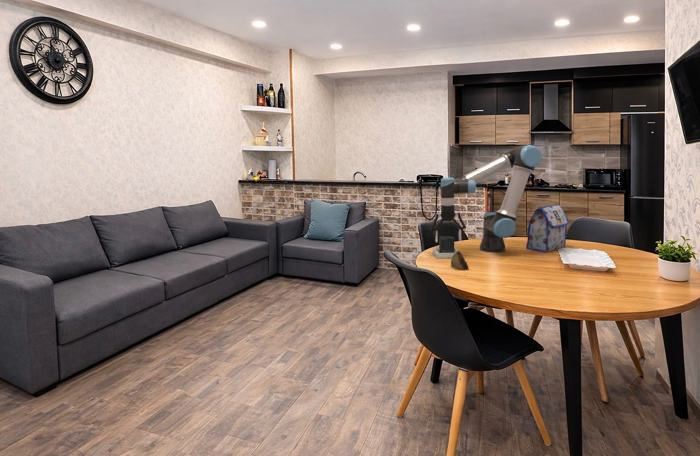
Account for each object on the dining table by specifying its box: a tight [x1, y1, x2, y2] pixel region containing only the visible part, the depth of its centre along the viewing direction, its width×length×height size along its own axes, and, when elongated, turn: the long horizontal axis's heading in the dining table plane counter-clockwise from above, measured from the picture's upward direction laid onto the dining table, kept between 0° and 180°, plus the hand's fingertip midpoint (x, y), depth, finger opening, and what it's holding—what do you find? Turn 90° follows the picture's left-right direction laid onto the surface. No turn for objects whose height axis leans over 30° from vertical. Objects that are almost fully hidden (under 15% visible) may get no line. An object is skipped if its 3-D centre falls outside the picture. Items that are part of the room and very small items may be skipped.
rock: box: [450, 250, 470, 271], centre depth 237 cm, size 11×9×10 cm
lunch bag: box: [525, 204, 569, 254], centre depth 276 cm, size 23×17×27 cm
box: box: [438, 235, 455, 253], centre depth 264 cm, size 8×6×11 cm
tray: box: [432, 247, 463, 260], centre depth 265 cm, size 14×14×3 cm
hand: (448, 241), depth 263 cm, fingers open, 13 cm apart
